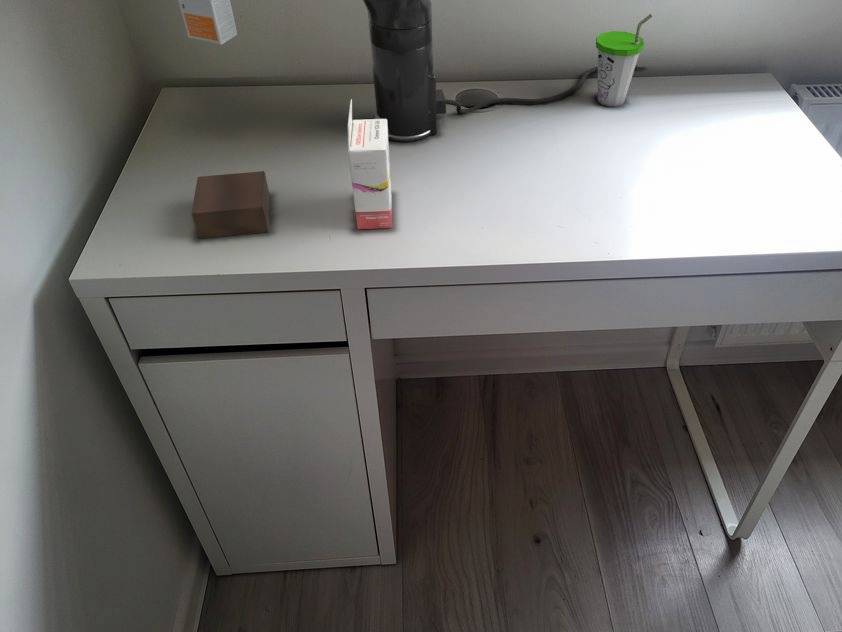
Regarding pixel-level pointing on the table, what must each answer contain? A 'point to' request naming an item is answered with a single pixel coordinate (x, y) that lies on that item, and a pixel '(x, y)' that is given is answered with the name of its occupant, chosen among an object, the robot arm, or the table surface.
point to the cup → (617, 63)
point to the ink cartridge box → (370, 171)
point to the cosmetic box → (208, 20)
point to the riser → (231, 204)
